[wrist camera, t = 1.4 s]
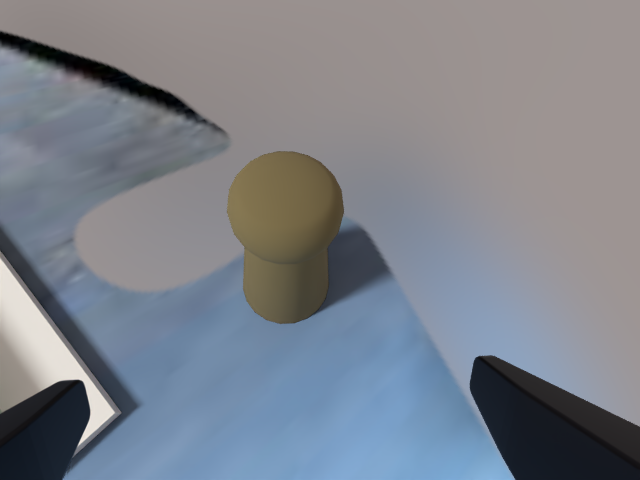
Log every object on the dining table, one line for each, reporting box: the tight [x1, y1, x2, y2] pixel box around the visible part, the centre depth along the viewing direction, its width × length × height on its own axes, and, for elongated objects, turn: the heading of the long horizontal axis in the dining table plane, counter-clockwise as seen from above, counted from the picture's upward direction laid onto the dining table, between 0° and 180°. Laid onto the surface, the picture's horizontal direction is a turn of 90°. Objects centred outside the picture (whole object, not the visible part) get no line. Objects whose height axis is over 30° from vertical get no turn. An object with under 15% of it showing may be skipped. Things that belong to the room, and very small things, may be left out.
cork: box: [227, 151, 344, 324], centre depth 18 cm, size 6×6×11 cm
